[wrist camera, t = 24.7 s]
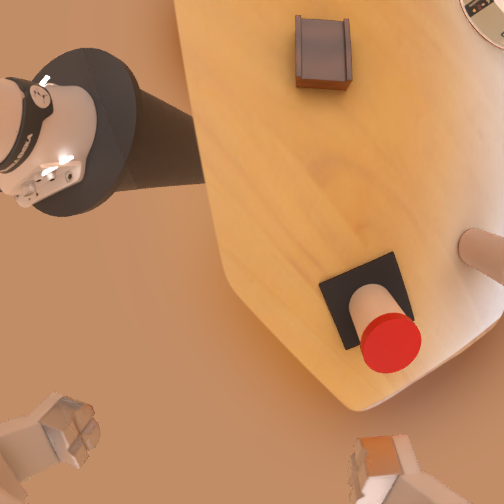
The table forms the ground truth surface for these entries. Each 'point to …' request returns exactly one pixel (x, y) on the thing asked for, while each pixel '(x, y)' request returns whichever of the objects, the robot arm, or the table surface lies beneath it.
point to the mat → (347, 283)
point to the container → (383, 329)
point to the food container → (486, 18)
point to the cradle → (323, 54)
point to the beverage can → (483, 253)
